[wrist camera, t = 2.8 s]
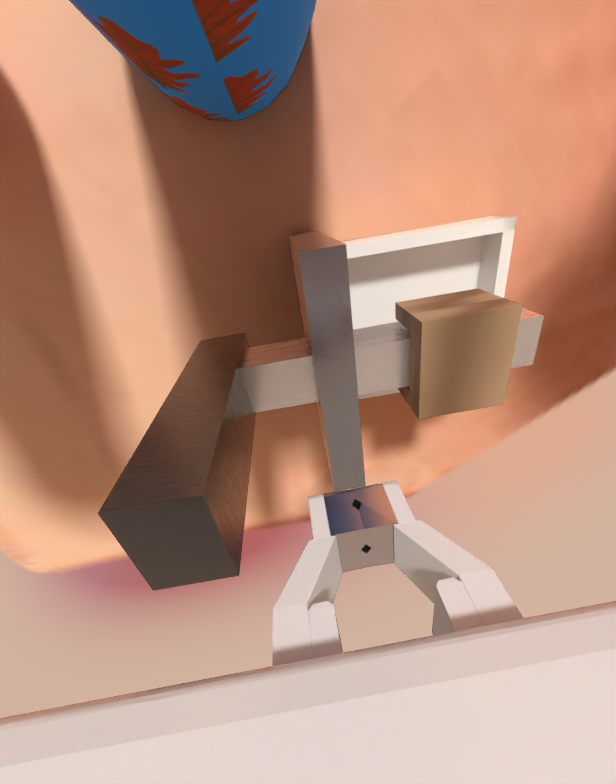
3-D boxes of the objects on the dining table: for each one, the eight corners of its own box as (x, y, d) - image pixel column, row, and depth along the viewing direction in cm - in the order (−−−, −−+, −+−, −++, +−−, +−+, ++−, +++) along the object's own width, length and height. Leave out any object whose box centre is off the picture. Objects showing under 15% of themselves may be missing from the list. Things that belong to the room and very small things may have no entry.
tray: (490, 216, 23) (516, 216, 21) (472, 362, 29) (491, 376, 27) (317, 245, 23) (322, 250, 21) (334, 386, 29) (340, 402, 27)
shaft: (496, 289, 21) (794, 392, 9) (488, 345, 23) (723, 491, 11) (200, 340, 21) (97, 513, 9) (218, 392, 23) (153, 590, 11)
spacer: (477, 288, 19) (522, 305, 15) (467, 374, 22) (503, 404, 18) (395, 302, 19) (421, 322, 15) (396, 386, 22) (418, 419, 18)
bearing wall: (315, 230, 23) (346, 244, 13) (335, 395, 30) (365, 486, 20) (288, 235, 23) (297, 252, 13) (314, 398, 30) (334, 491, 20)
